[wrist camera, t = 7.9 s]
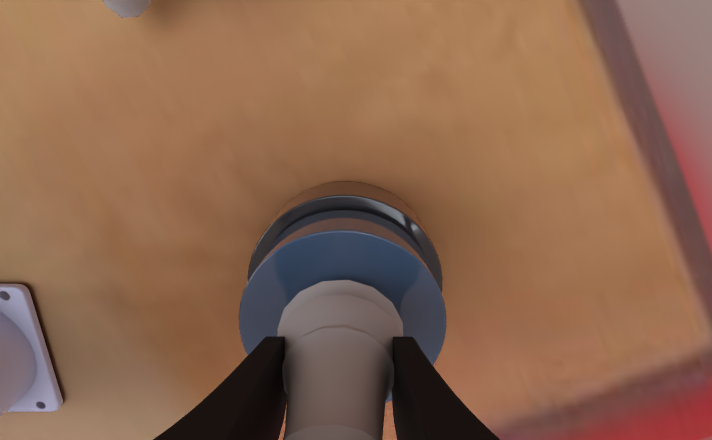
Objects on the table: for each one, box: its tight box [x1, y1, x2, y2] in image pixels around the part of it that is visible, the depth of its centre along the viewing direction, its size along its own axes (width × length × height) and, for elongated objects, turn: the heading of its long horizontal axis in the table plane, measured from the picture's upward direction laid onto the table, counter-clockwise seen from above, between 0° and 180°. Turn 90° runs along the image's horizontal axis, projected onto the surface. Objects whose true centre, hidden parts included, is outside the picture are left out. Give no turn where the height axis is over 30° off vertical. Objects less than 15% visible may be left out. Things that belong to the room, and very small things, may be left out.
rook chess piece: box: [277, 280, 403, 440], centre depth 10 cm, size 4×4×8 cm
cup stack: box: [239, 181, 446, 403], centre depth 16 cm, size 9×9×6 cm
